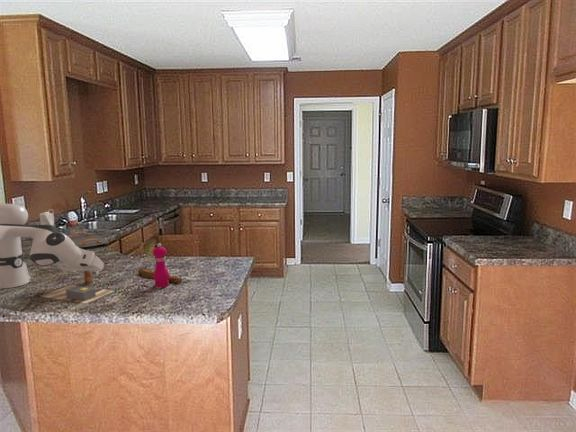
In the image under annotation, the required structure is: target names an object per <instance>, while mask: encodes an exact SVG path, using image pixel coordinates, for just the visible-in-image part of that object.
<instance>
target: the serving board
mask: <svg viewBox="0 0 576 432" xmlns="http://www.w3.org/2000/svg"><path fill="white" fill-rule="evenodd" d="M81 234H83V235H81ZM68 237H69V238H70V239H71V240H72V241H73V242H74V243H75V245H76V246H77V247H79V248H88V247H95V246H101V245H103V246H104V247H107V246H108V244H109V243H110V241H109V240H107V239H106V238H104V237H102V236H101V235H99V234H96V233H92V234H91V233H87V232H86V231H76V232H74V233H72V234H71V235H70V236H68Z"/></svg>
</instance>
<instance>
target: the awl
mask: <svg viewBox="0 0 576 432" xmlns="http://www.w3.org/2000/svg"><path fill="white" fill-rule="evenodd" d="M83 276H84V284H85V285H91V284H94V278H93V271H83Z"/></svg>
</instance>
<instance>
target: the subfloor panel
mask: <svg viewBox="0 0 576 432" xmlns="http://www.w3.org/2000/svg"><path fill="white" fill-rule="evenodd" d="M76 286H77V285H73V284H69V285H67V286H64V287H62V288H59V289H56V290H53V291H51V292H48V293H46V294H43V295H40V297H42V298H48V299H55V300H60V301H68V302H74V303H80V304H81V303H82V304H89V303H91V302H92V301H95V300H97V299H100V298H102V297H104V296H107V295H109V294H112V293H113V292H115V290H111V289H103V288H95V293H96V296H95V297H93V298H90V299H88V300H86V301H82V300H76V299H69V298H67V296H66V290H68V289H71V288H73V287H76Z"/></svg>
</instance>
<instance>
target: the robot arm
mask: <svg viewBox="0 0 576 432" xmlns="http://www.w3.org/2000/svg"><path fill="white" fill-rule="evenodd" d="M28 219H29V213H28V210H27V209H26V208H25V207H23V206H21V205H18V204H15V203H3V202H2V203H1V202H0V290H1V289H2V288H3V289H11V288H15V287H19V286H23V285H26V284H28V283H29V282H30V280H31V279H32V277H31V276H30V275H29V272H28V266H27V264H26V262H25V256H24V253H23V251H22V250H23V249H22V239H21V238H32V243H31V244H32V245H31V248H30V251H29V259H30V261H31V262H32V263H33V264H35V265H37V266H40V267H47V266H48V267H49V266H52V265H54V264H56V266H57V267H58V269H59V270H60V271H66V272H67V271H68V272H69V271H70V272H73V273H74V274H76V275H80V273H81V272H84V271H92V272H93V274H94V275H99V273H100V272H102V271H103V268H104V265H105V264H104V262H103V261H102V260H101V259H100V257H98V256H97V255H96V254H95V252H94V251H92V250H87V249H84V248H82V247H80V248H79V247H77V246H76V245H75V243H74V242H73V241H72V240H71V239H70V238H69V236H68V235H67V234H65V233H63V232H60V230H59V229H58V227H56V226H55V225H54V226H53V225H49V224H44V225H41V224H26V223H27V222H28Z"/></svg>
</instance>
